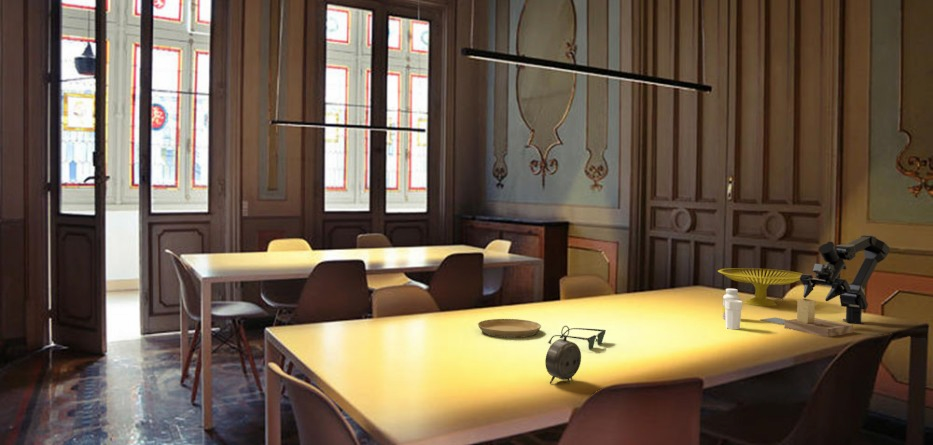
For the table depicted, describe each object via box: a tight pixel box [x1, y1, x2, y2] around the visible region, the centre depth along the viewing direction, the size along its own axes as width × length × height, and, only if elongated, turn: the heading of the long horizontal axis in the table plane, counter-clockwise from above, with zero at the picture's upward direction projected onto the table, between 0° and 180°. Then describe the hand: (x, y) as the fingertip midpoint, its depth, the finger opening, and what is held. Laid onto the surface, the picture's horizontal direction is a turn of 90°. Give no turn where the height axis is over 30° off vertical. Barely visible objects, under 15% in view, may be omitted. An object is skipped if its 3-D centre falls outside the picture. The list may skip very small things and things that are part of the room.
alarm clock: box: [544, 325, 582, 385], centre depth 190 cm, size 11×5×16 cm, turn 129°
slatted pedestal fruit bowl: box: [717, 267, 803, 307], centre depth 326 cm, size 40×40×15 cm
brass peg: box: [796, 298, 816, 324], centre depth 265 cm, size 4×4×12 cm
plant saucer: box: [477, 318, 542, 339], centre depth 255 cm, size 24×24×3 cm
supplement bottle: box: [722, 288, 741, 320], centre depth 286 cm, size 7×7×13 cm
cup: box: [724, 299, 743, 330], centre depth 267 cm, size 7×7×11 cm
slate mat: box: [759, 317, 787, 325], centre depth 282 cm, size 10×10×1 cm
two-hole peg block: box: [783, 317, 854, 338], centre depth 265 cm, size 16×18×3 cm
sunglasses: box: [547, 327, 606, 351], centre depth 238 cm, size 16×17×5 cm
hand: (815, 298), depth 268 cm, fingers open, 9 cm apart
